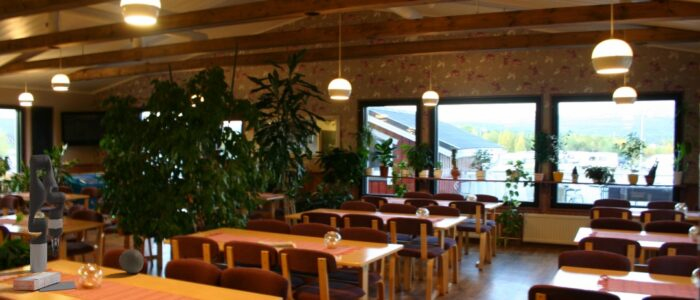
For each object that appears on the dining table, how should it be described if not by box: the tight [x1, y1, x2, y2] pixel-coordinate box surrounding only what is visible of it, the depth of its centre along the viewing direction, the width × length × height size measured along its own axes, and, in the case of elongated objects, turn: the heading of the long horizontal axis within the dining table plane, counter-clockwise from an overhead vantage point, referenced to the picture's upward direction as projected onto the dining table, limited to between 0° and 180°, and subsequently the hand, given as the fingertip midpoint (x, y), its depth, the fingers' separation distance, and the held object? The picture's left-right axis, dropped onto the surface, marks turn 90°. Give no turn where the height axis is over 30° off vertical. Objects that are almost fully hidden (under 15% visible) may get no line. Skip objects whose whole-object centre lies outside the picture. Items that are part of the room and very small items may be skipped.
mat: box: [39, 280, 77, 293], centre depth 336 cm, size 18×18×1 cm
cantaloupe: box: [118, 248, 144, 274], centre depth 371 cm, size 14×14×15 cm
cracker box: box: [12, 271, 62, 291], centre depth 335 cm, size 14×6×21 cm
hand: (55, 256), depth 344 cm, fingers closed
